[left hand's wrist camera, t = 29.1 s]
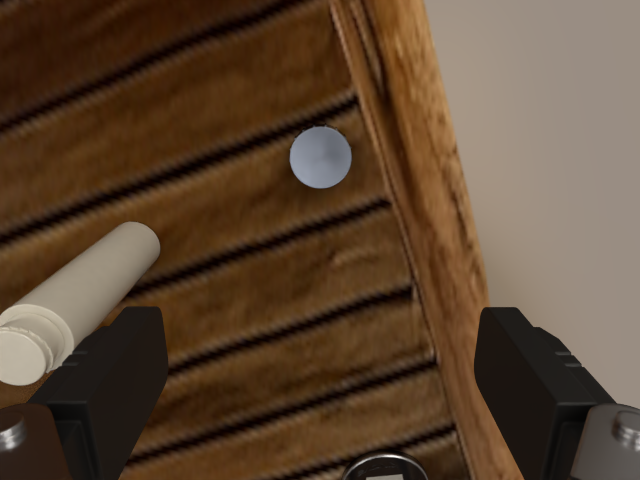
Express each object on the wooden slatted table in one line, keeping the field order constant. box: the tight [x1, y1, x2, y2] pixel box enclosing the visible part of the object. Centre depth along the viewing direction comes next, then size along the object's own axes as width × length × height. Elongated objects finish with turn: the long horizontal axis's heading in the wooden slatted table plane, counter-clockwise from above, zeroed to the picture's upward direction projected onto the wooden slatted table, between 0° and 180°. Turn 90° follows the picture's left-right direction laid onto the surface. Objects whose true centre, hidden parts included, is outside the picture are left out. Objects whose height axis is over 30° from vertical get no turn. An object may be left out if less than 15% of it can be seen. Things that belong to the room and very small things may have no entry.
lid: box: [289, 123, 352, 189], centre depth 36 cm, size 5×5×2 cm
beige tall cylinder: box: [0, 222, 160, 385], centre depth 32 cm, size 4×4×17 cm
